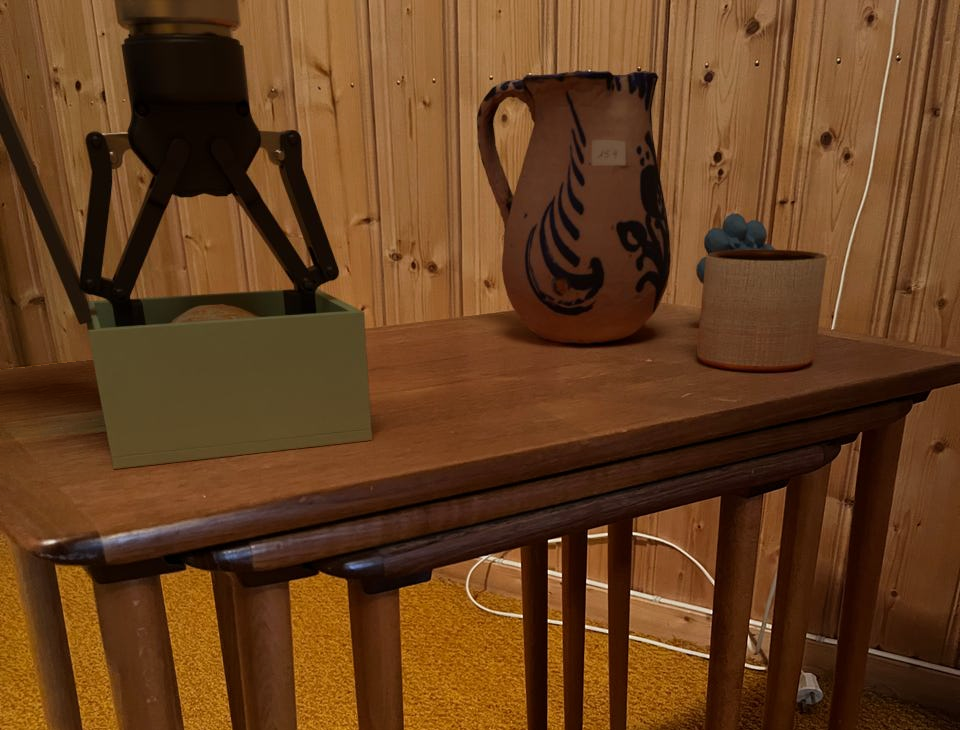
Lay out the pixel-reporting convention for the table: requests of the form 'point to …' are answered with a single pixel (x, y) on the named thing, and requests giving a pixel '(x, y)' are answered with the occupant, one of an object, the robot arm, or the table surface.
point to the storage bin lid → (42, 210)
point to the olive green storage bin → (230, 378)
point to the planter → (760, 309)
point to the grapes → (734, 238)
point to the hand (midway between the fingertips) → (227, 389)
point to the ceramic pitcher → (582, 205)
